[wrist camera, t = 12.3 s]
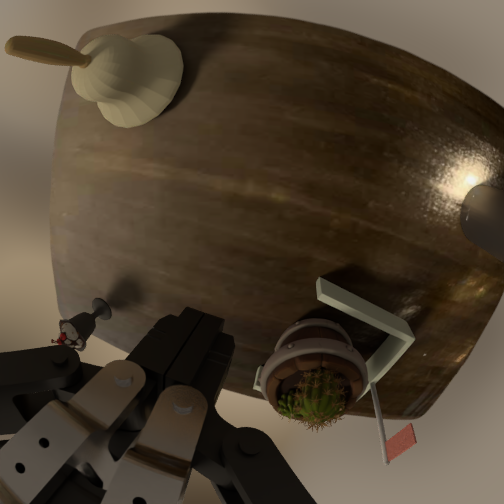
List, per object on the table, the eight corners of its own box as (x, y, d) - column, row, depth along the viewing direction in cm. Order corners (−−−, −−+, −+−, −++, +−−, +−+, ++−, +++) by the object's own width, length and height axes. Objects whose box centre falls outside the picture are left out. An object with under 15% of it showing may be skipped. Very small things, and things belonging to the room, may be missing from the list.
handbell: (158, 142, 36) (7, 147, 12) (91, 113, 35) (-37, 112, 12) (206, 49, 30) (98, -43, 7) (130, 32, 30) (18, -18, 6)
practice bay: (257, 368, 46) (232, 469, 26) (319, 276, 38) (330, 385, 19) (336, 398, 46) (339, 492, 26) (406, 321, 38) (451, 419, 19)
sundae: (101, 289, 46) (50, 330, 32) (120, 318, 48) (74, 364, 34) (84, 299, 48) (37, 337, 34) (102, 326, 50) (59, 368, 36)
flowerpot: (345, 377, 44) (354, 473, 25) (261, 367, 45) (239, 463, 27) (371, 310, 39) (406, 411, 20) (273, 296, 40) (250, 400, 22)
